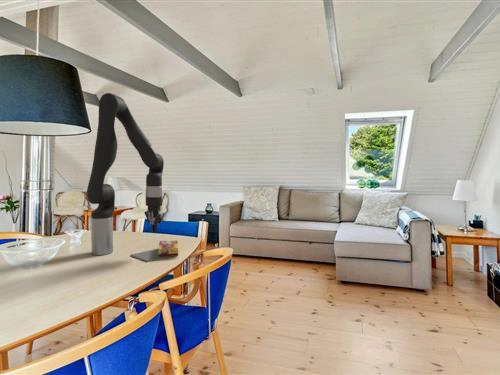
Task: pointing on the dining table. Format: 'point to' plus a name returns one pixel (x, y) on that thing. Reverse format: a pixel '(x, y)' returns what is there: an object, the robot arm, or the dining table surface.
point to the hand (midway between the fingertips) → (154, 232)
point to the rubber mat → (148, 255)
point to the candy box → (168, 248)
